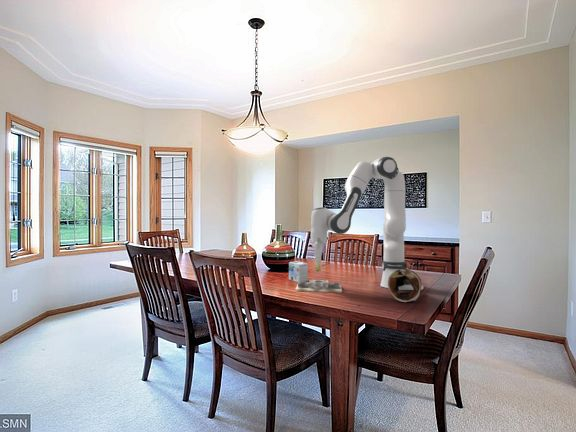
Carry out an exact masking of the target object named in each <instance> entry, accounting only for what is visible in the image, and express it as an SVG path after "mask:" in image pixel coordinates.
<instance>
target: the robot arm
mask: <svg viewBox="0 0 576 432" xmlns="http://www.w3.org/2000/svg"><path fill="white" fill-rule="evenodd" d="M381 179H382V181H383V184H384V193H383V194H384V195H383V197H384V199H383V200H384V201H383V202H384V203H383V207H384V208H383V209H384V210H383V211H384V218H383V219H384V221H383V227H382V229H383V230H382V231H383V234H382V235H383V236H382V237H383V260H382V264H381V265H382V267H381V269H382V276H381V281H380V285H379V286H380V287H382V288H385V289H389V288H388V279H389V276H390V275H391V274H392V273H393V272H394V271H396V270H399V269H409V267H411V264H410V262H407V261H406V260H405V235H404V233H405V231H406V229H407V226H406V225H407V223H406V222H407V218H406V180H405V175H404V173H403V172H401V171H399V168H398V164H397V161H396V159H395V158H393V157H391V156H383V157H378V158H377V159H375V160H372V161H371V162H367V161H365V160H363V161H362V160H361V161H359V162H357V164H355V166H354V167H353V168H352V169H351V171H350V173H349V175H348V177H347V179H346V181H345V183H344V191H345V193H346V199H345V200H344V203H343V205H342V207H341V209H340V211H339V212H338V213H336V212H333V211H332V210H330V209H328V208H327V207H325V206H324V207H323V206H322V207H317V208H314V209H312V211H311V215H310V216H311V217H310V225H311V228H310V241H311V242H312V244H313V245H314V250H313V251H314V255H313V256H314V257H315V258H316V261H317V264H320V257H321V258H322V255H323V250H324V245H325V243H326V242H328V232H329V231H331V232H334V233H336V234H338V235H342V234H343V235H344V234H345V233H348V231H349V230H350V229H351V225H352V217H353V214H354V212H355V210H356V209H357V207H358V203H359V202H360V199H361V197H362V195H363V194H364V192H365V190H366V188H367V186H368V185H369V182H370V181H371V180H381ZM398 289H399V291H413V290H414V289H413V287H412V285H411V284H410V285H403V286H400V287H398ZM423 289H424V285H422V286H421V290H423Z"/></svg>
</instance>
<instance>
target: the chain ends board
mask: <svg viewBox="0 0 576 432" xmlns="http://www.w3.org/2000/svg"><path fill="white" fill-rule="evenodd" d="M308 281H309V282H308ZM308 281H306V282H304V281H300V282H297V284H296V287H295V289H294V290H295V292H310V291H311V293H312V292H314V293H315V292H316V293H317V292H318V293H341V294H342V293H343V288H342V284H341V285H340V282H336V281H335V282H329V280H327V279H325V280H323V279H322V280H321V279H310V280H308Z"/></svg>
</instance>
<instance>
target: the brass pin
mask: <svg viewBox="0 0 576 432" xmlns="http://www.w3.org/2000/svg"><path fill="white" fill-rule="evenodd" d="M314 260H315V261H314V263H315V266H314V268H315V270H314V271H315V272H319V273H320V272H321V271H322V256H321V257H320V264H317V261H316V257H315V259H314Z"/></svg>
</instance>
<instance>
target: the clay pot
mask: <svg viewBox="0 0 576 432" xmlns="http://www.w3.org/2000/svg"><path fill="white" fill-rule="evenodd" d="M410 284H411V285H412V287H413V289H414V290H411V292H409V293H401V292H400V290H399V289H398V287H400V286H403V285H410ZM421 286H423V285H422V279H421V277H420V276H419V275H418V274H417V273H416V272H415V271H414V270H411V269H409V268H408V269H399V270H396V271H394V272H393V273H392V274H391V275H390V276H389V279H388V288H387V289H388V290H389V293H390V294H391V295H392V297H393V298H394V299H395V300H396V301H399V302H403V303H407V302H416V301H417V299H418V298H419V297H420V293H421Z"/></svg>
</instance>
